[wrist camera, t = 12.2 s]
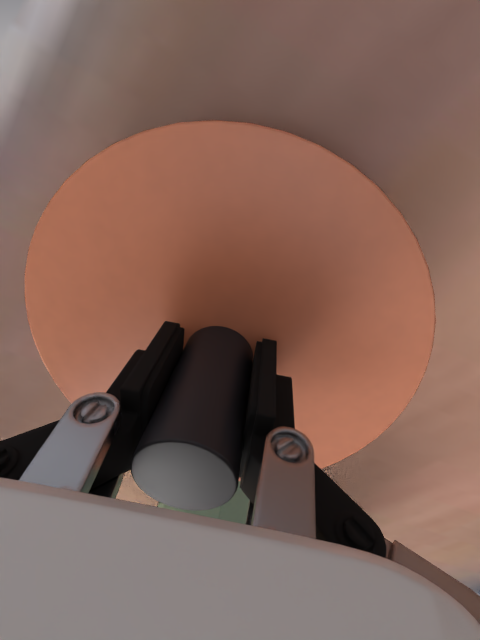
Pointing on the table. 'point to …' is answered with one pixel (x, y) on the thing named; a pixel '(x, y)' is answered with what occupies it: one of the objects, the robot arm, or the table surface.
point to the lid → (231, 293)
